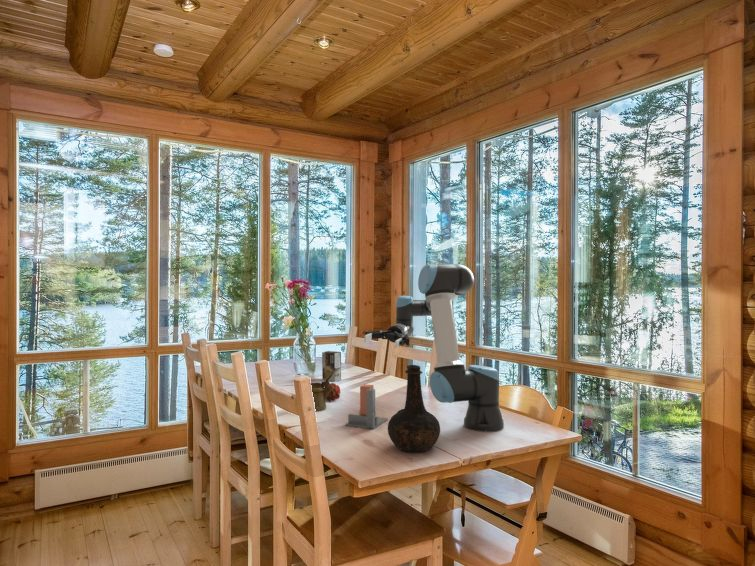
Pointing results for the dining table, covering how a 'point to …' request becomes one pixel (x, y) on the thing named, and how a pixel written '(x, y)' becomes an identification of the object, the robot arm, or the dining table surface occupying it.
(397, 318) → the robot arm
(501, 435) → the dining table surface
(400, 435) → the glass bottle
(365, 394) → the link bar
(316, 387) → the brass mortar and pestle
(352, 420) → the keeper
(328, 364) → the coffee box
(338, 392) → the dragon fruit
